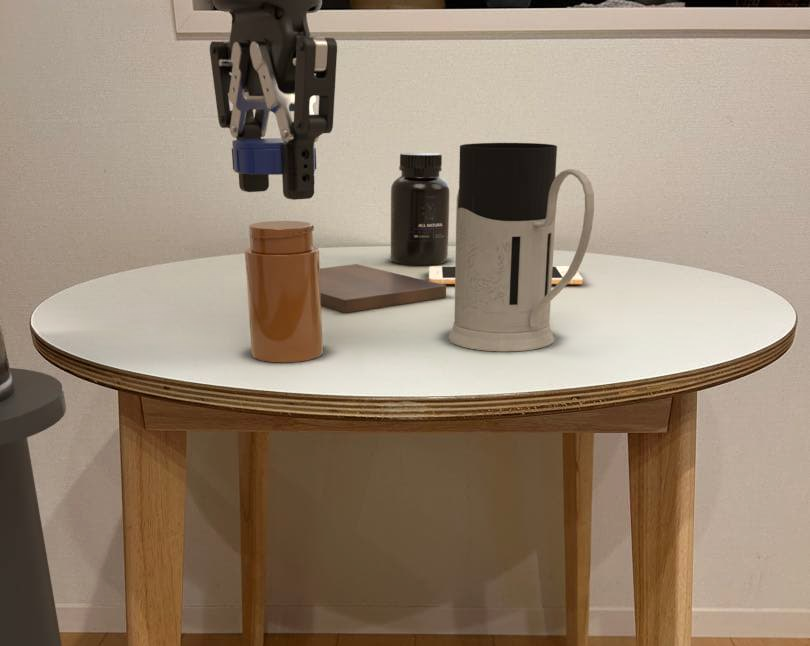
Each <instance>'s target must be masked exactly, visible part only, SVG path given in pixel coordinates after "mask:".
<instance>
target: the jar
mask: <svg viewBox="0 0 810 646" xmlns="http://www.w3.org/2000/svg"><path fill="white" fill-rule="evenodd" d="M314 230H315V228H314V225H313V224H312V223H311V222H308V221H307V222H305V221H298V220H273V221H272V220H271V221H260V222H254V223H251V224H250V225H249V226H248V231H249V247H248V248H246V249H245V250H244V262H245V274H246V275H245V276H246V293H247V305H248V306H247V307H248V320H249V322H248V323H249V333H250V334H249V335H250V351H251V356H252V358H254V359H256V360H259V361H262V362H268V363H298V362H305V361H306V362H307V361H311V360H315V359H317V358H319V357H321V356H322V355H323V353H324V345H323V344H324V343H323V341H324V340H323V319H322V305H321V289H320V268H321V265H320V249H319V247H317V246H315V245H314V239H313V231H314Z"/></svg>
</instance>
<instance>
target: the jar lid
mask: <svg viewBox="0 0 810 646" xmlns="http://www.w3.org/2000/svg"><path fill="white" fill-rule="evenodd" d="M231 143H232V148H231V158H232V159H231V161H232V170H233V172H234V173H236V174H239V173H242V174H259V175H269V176H271V175H272V176H273V175H281V176H282V155H281V144H287V143H284V142H283V140H282V138H281V137H279V138H277V137H276V138H273V137H272V138H270V137H269V138H261V139H242V140H237V139H235V140H232V142H231ZM316 170H317V148H316V147H315V144H314V172H316Z"/></svg>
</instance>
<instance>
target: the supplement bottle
mask: <svg viewBox="0 0 810 646" xmlns="http://www.w3.org/2000/svg"><path fill="white" fill-rule="evenodd" d="M442 159H443V155H442V154H441V153H435V152H402V153H400V154H399V166H398V167H399V168H398V170H399V171H400V173H401V174H400V176H399V177H397V178H396V179H395V180H393V182H392V184H391V187H390V259H391V260H392V261H393V262H394V263H395V264H402V265H408V266H435V265H440V264H444V263H445V262H446V261H447V260H448V254H449V230H450V229H449V228H450V227H449V225H450V195H451V194H450V193H451V192H450V190H451V189H450V185H449V183H448V182H447V181H446V180H445V179H444V178H443V177H442V176H441V172H442V171H443V166H442V164H443V160H442Z"/></svg>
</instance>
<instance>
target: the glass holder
mask: <svg viewBox="0 0 810 646" xmlns="http://www.w3.org/2000/svg"><path fill="white" fill-rule="evenodd" d="M557 153H558V146H557V145H556V144H552V143H551V144H549V143H537V142H482V143H481V142H478V143H476V142H475V143H465V144H460V145H459V165H458V166H459V168H458V170H459V172H458V173H459V175H458V190H457V195H456V206H455V207H456V212H455V215H456V216H455V262H454V263H455V264H454V266H455V284H454V321H453V323H452V324H453V325H452V329H451V330H450V332H449V334H448V341H449V342H450V343H452V344H454V345H456V346H459V347H463V348H466V349H471V350H477V351H488V352H522V351H524V352H525V351H533V350H538V349H543V348H545V347H548V346H550V345H552V344H553V343H554V341H555V337H554V334H553V332H552V330H551V324H550V320H551V301H552V300H554V298H555V297H556V296H558V294H560V293H561V291H562V290H563V289H564V288H565V287H566V286H568V285H569V284H568V283H569V282H570V281H571V279H572V278H573V277H574V276H575V274H576V273H577V271H578V270H579V268H580V266H581V264H582V262H583V260H584V257H585V254H586V252H587V249H588V247H589V242H590V238H591V234H592V229H593V222H594V213H595V193H594V189H593V186H592V182H591V181H590V179H589V177H588V175H586V174H585V173H584V172H582V171H581V170H579V169H575V168H574V169H573V168H567V169H565V170H562V171H560V172H559V173H558V174H557V173H556V172H557V155H558V154H557ZM556 174H557V175H556ZM569 175H572V176H573V177H574V178H577V180H578V181H579V182H580V185H582V189H583V194H584V215H583V223H582V231H581V234H580V238H579V241H578V246H577V248H576V251H575V254H574V256H573V259H572V261H571V263H570V265H569V266H570V267H569V269H568V271H567V273H566V274H565V275H564V277H563V278H562V279H561V280H560V282H559V283H558V284H555V286H554V287H553V288H552V285H553V284H552V268H553V266H554V251H555V231H556V215H557V213H556V212H557V204H558V203H557V202H558V198H559V197H558V196H559V192H560V189H561V186H562V184H563V182H564V180H565V179H566V178H567V177H568V176H569ZM578 272H579V271H578Z"/></svg>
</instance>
